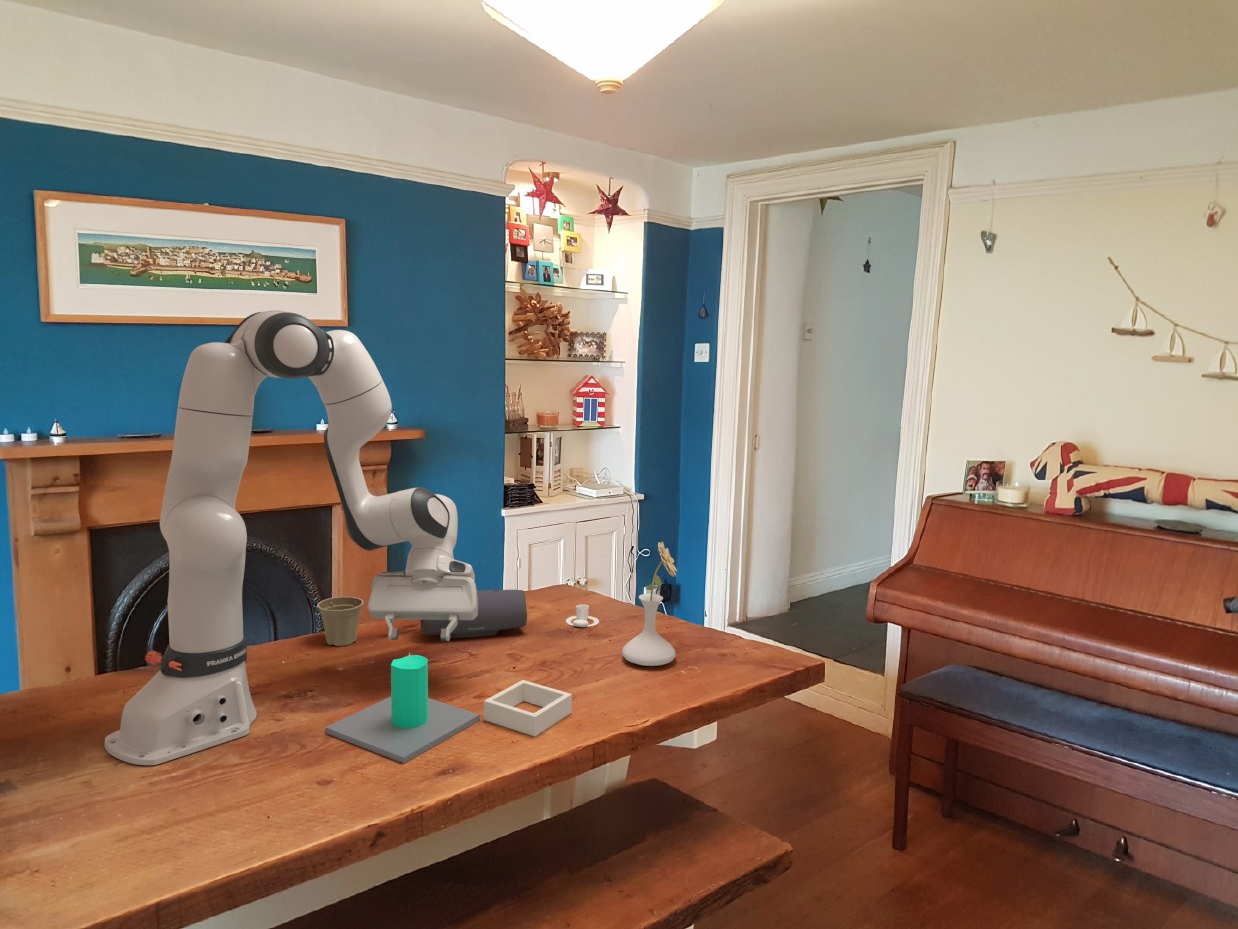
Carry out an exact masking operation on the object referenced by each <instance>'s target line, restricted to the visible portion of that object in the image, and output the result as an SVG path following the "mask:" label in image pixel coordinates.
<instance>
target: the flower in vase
mask: <svg viewBox="0 0 1238 929" xmlns="http://www.w3.org/2000/svg"><path fill="white" fill-rule="evenodd" d="M657 548H658V549H657V550H658V553H659V555H660V558H661V559H660V560H661V561H660V563H659V564H658V565H657V567H656V570H655V572H654V575H653V576H652V577H653V578H652V583H649V585H648V586H647V587H646V588H645V590H649V591H650V593H643V594H640V595H639V596H638V599H639V600H640V602H641V603H642V606H643V610H644V625H643V626H644V627H643V630H642V631H641V632H640V633H639V634H638V635H636V636H635V637H633V638H632V639H631V640H629V641H628V642H627V643H626V644H625V645H624V646H623V647H622V649H621V655H622V656H623V658H624V659H625V660H626V661H628V662H630V663H632V664H636V665H640V666H644V667H645V666H646V667H655V666H656V667H657V666H663V665H666V664H669V663H671V662H672V661H673V660H674V659H675V658H676V655H677V653H676V650H675V647H673V646H672V644H671V643H669V642H668V641H667V640H666V639H665V638H663V637H662V636H661V635H660V634H659V633H658V631H657V628H656V618H657V617H656V616H657V612H658V607H659V605H660V604H661V602H662V601H663V600H664V597H663V596H662V595H660V594H656V593H653V591H654V590H656V589H657V588H660V587H661V586H662V584H663V583H662V580H661V579H662V578H660V576H658V575H657V573H658V571H659V569H660V567H661V566H662V564H663V566H664V568H665V569H666V571H667V573H668V574H669V576H672V577H677V573H676V572H678V569H677V567H676V566H675V564H674V563H675V560H674V558H673V557H671V553H670V550H669V547H667V548H665V544H664V541H661V542H658V544H657Z"/></svg>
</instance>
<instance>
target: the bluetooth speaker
mask: <svg viewBox="0 0 1238 929" xmlns="http://www.w3.org/2000/svg"><path fill="white" fill-rule="evenodd" d="M477 595H478V616H477V617H476V618H475V619H474V620H458V625H457V626H456V627H455V629H454V630H453V631H452V632H451V633H450V639H451V638H452V639H461V638H462V639H463V638H475V637H488V636H493V635H496V634H497V633H498V632H499V631H504V630H505V631H506V630H509V629H517V628H522V627H525V626H526V625H527V622H528V612H527V611H528V609H527V600H526V598H527V595H526V593H525V591H524V590H523V589H522V590H521V589H487V590H486V589H485V590H477ZM419 620H420V630H421V633H422V635H435V636H436V635H441V629H446V628H447V626H448V625H449V624H450V621H449V620H422V619H419Z"/></svg>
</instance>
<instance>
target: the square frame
mask: <svg viewBox="0 0 1238 929" xmlns="http://www.w3.org/2000/svg"><path fill="white" fill-rule="evenodd" d="M522 702H526V703H529V704H532V705H534V706H535V705H536V706H539V707H542V708H540V709H539V710H537V711H535V712H531V711H528V710H525V709H522V708H518V707H515V706H517V705H519V704H521V703H522ZM572 706H573V693H569V692H566V691H563V690H560V689H559V690H558V689H556V688H552V687H549V686H545V685H541V684H539V683H534V682H531V681H527V680H524V679H522V680H519V681H518V682H516V683H515V684H513V685H510V686H509V687H507V688H505V689H503V690H501V691H499V692H497V693H496V694H494V695H492V696H490V697H488V698H486V699H485V700H483V721H486V722H489V723H492V724H495V725H498V726H501V727H504V728H507V729H509V730H510V729H511V730H514V731H517V732H519V733H523V734H525V735H529V736H532V737H537V736H538V735H540V734H542V732H544V731H546V730H548V729H549V728H550V727H552V726H553V725H555V724H557V723H558V722H560V721H561V720H562V719H564V718H566V717H567V716H569V715H570V714H572V709H573V707H572Z"/></svg>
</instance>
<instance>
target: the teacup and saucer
mask: <svg viewBox="0 0 1238 929" xmlns="http://www.w3.org/2000/svg"><path fill="white" fill-rule="evenodd" d="M589 609H590V606H589V605H588V604H578V605H576V606H575V615H573V616H572V615H571V616H569V617H568V618H566V619H565V623H566V624H568V625H569V626H573V627H577V628H578V627H579V628H588V627H589V628H590V627H594V626H597V625H598V624H600V620H599V619H598V618H597V617H594V616H590V615H589V611H590V610H589ZM588 619H590V620H593V623H591V624H589V621H588Z"/></svg>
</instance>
